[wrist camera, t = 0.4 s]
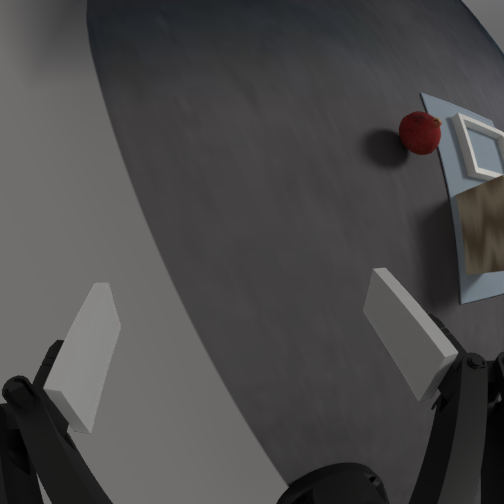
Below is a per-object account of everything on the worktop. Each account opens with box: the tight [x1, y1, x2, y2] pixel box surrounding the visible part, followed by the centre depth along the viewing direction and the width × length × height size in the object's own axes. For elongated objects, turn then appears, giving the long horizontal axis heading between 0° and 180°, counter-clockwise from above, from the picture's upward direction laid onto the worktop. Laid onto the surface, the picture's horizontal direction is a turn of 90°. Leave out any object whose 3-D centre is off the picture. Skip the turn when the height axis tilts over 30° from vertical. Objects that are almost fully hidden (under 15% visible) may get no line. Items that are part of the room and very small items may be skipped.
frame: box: [451, 113, 504, 181], centre depth 38 cm, size 11×16×2 cm
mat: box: [420, 93, 504, 304], centre depth 38 cm, size 34×22×1 cm, turn 3°
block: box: [456, 175, 504, 275], centre depth 31 cm, size 12×5×10 cm, turn 3°
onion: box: [399, 111, 442, 155], centre depth 32 cm, size 6×6×8 cm
